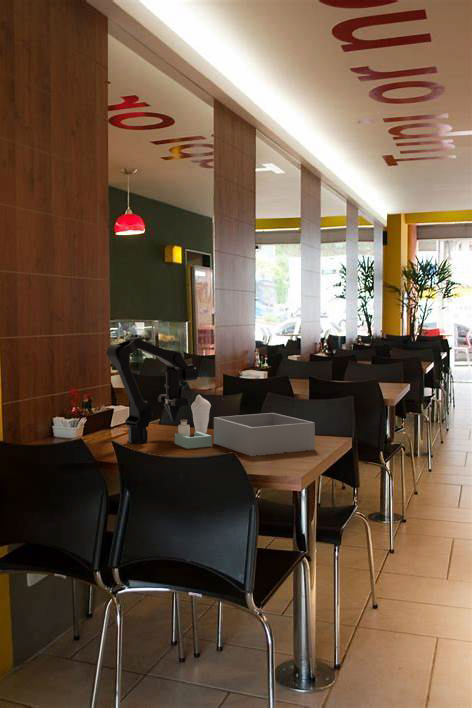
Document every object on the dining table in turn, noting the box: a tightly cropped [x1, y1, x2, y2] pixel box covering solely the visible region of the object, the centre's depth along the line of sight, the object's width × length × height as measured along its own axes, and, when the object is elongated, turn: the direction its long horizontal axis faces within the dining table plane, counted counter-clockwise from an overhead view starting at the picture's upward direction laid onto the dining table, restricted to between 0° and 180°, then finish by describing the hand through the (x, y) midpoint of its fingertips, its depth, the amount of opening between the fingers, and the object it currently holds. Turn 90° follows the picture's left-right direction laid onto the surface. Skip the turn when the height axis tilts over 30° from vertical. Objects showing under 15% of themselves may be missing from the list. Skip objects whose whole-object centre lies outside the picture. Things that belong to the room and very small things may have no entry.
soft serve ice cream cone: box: [190, 394, 212, 434], centre depth 301 cm, size 8×8×16 cm
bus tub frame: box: [213, 412, 316, 457], centre depth 269 cm, size 26×30×10 cm
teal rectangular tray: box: [174, 431, 213, 449], centre depth 273 cm, size 10×12×4 cm
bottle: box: [177, 419, 191, 437], centre depth 281 cm, size 4×4×8 cm
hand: (173, 421), depth 290 cm, fingers closed
